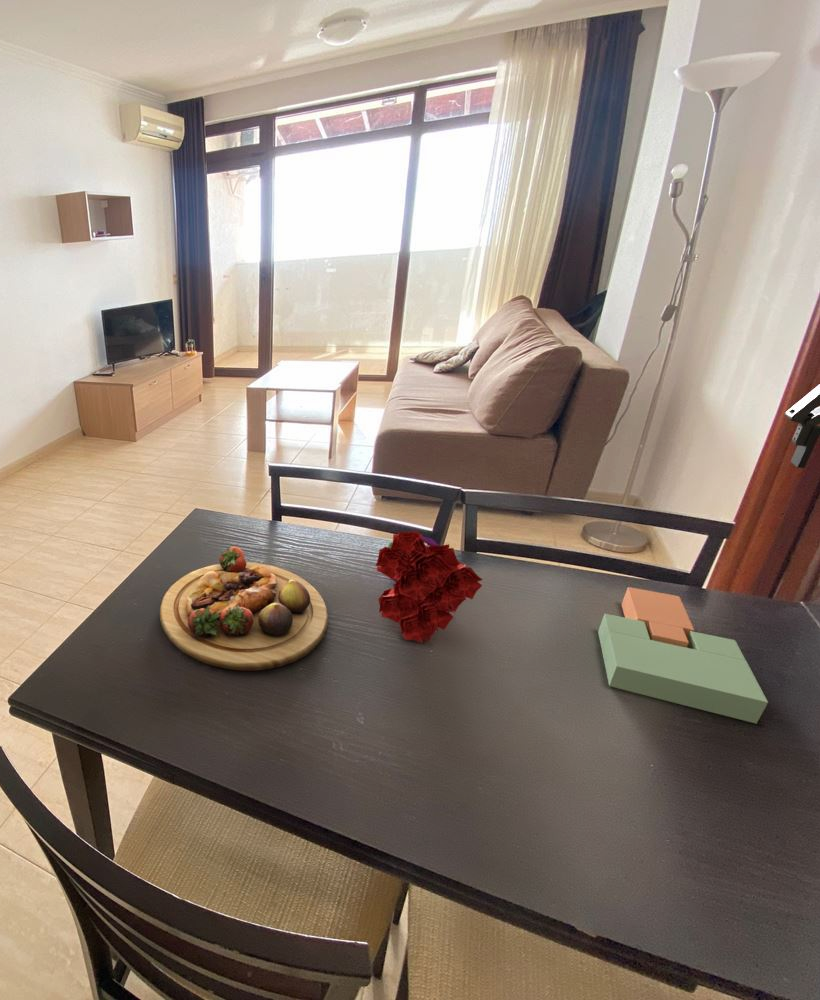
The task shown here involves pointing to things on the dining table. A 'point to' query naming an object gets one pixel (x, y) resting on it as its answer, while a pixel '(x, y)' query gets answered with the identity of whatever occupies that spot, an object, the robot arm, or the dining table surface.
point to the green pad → (681, 669)
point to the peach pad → (659, 615)
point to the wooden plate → (243, 614)
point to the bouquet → (423, 584)
